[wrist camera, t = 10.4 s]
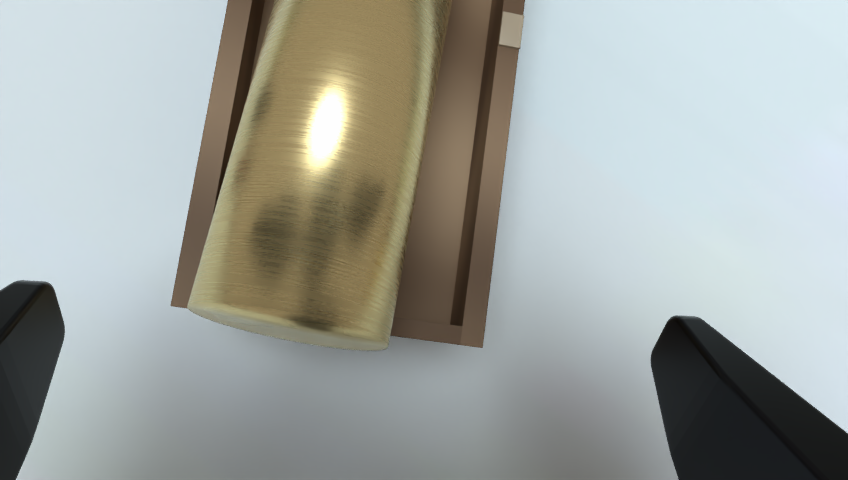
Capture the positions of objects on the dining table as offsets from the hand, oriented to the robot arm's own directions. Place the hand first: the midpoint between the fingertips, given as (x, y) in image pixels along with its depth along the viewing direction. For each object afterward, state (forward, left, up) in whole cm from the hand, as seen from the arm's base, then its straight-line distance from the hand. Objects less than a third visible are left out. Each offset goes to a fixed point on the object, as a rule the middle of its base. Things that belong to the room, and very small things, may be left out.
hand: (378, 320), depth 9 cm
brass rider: (+6, +7, -4) cm, 10 cm away
